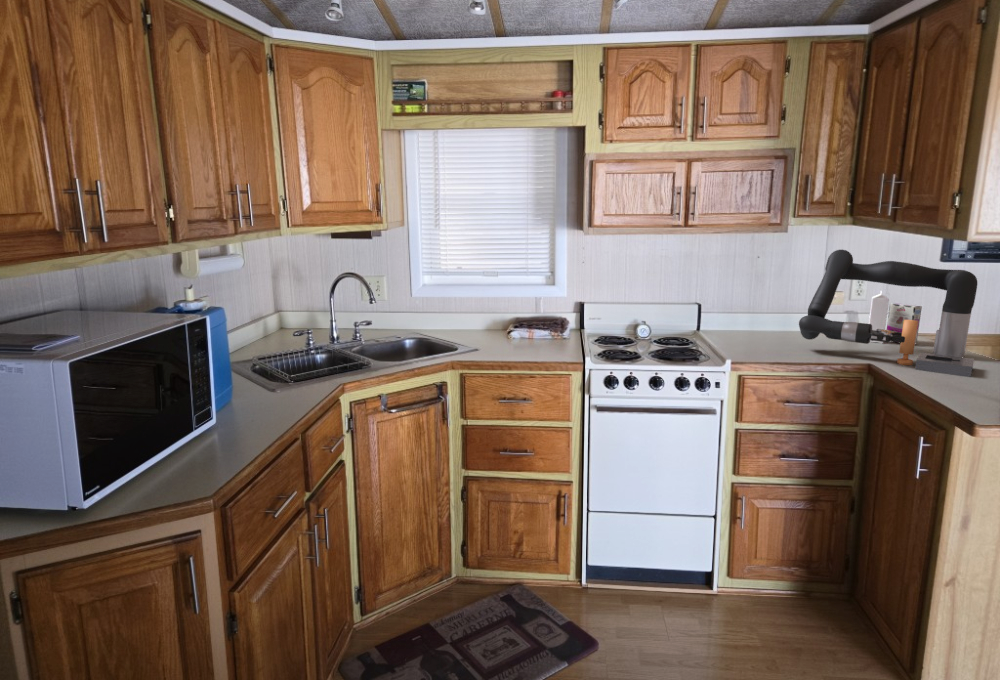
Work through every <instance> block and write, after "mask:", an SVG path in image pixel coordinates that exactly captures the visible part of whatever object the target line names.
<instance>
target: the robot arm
mask: <svg viewBox="0 0 1000 680" xmlns="http://www.w3.org/2000/svg"><path fill="white" fill-rule="evenodd" d="M824 270H825V272H824V274H823V277H822V279H821V281H820V284H819V285H818V287H817V290H816V291H815V293H814V295H813V297H812V299H811V300H810V301H811V302H810V303H809V305H808V308H807V315H805V316H803V317H801V318H800V319H799V321H798V327H799V330H800V331H799V332H800V334H801V336H802V338H804V339H805V340H815V339H816V338H818V336H819V335H820V334H822V335H824V336H825V337H826V338H828V339H830V340H837V341H845V342H851V343H857V344H867V345H869V344H870V343H871V342H870V340H872V341H881V342H883V343H895V342H901V343H904V342H905V337H904V336H902V333H900V332H896V331H894V330H887V329H885V330H883V329H877V330H872V325H871V324H868V323H865V322H863V323H862V322H854V321H839V320H838V321H837V320H830V319H828V318H826V316H827V313H828V311H829V310H830V307H831V305H832V303H833V300H834V297H835V295H836V292H837V290H838V287H839V284H840V282H841V280H849V281H850V280H851V281H862V282H863V281H865V282H871V283H872V282H873V283H878V284H879V283H881V284H886V285H892V286H898V287H909V288H910V287H911V288H912V287H913V288H914V287H915V288H920V287H921V288H922V287H925V288H933V289H938V290H943V291H946V293H945V298H944V303H942V308H941V316H940V322H939V323H940V324H939V329H937V330H936V331H935V332H936V333H935V338H934V345H933V352H932V354H938V355H946V356H954V357H964V358H965V352H966V347H967V340H968V335H969V330H970V329H969V328H970V322H971V315H972V310H973V308H974V305H975V300H976V296H977V292H978V291H977V290H978V278H977V276H976V275H975V274H974V273H973V272H971V271H968V270H965V269H944V268H933V267H932V268H931V267H927V266H923V265H920V264H914V263H910V262H905V261H903V262H902V261H895V260H888V261H887V260H885V261H880V262H879V261H878V262H875V263H868V264H867V263H865V264H864V263H863V264H862V263H855V262H854V258H853V255H852V253H851V252H849V251H848V250H846V249H836V250H834V251H832V252H831V253H830V254H829V256H828V258H827V262H826V264H825V269H824ZM890 333H891V334H890ZM892 341H893V342H892Z"/></svg>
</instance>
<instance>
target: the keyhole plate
mask: <svg viewBox="0 0 1000 680" xmlns="http://www.w3.org/2000/svg"><path fill="white" fill-rule="evenodd" d="M974 360H975V358H969V357H964V358H962V357H954V356H946V355H938V354H933V353H928V352H920V354H919V355H918V357H917V359H916V362H915V368H914V369H915V370H918V371H926V372H931V373H940V374H945V375H946V374H947V375H954V376H963V377H967V378H971V377H972V372H973V369H974V368H973V367H974V362H975V361H974Z"/></svg>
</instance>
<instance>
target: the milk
mask: <svg viewBox="0 0 1000 680" xmlns="http://www.w3.org/2000/svg"><path fill="white" fill-rule="evenodd" d="M879 292H880V293H879V294H876V295H873V296H871V301H870V308H869V317H868V323H867V324H871V325H872V330H877V329H883V330H886V326H887V319H888V312H889V309H888V308H889V304H890V303H889V302H890V299H889V297H887V296H885V295H884V294H883V291H882V290H880V291H879ZM871 342H880V343H879V344H882V343H883V344H884V342H881V341H872V340H870V342H869V343H871Z"/></svg>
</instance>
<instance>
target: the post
mask: <svg viewBox="0 0 1000 680" xmlns="http://www.w3.org/2000/svg"><path fill="white" fill-rule="evenodd" d="M917 325H918V321H916V320H904V322H903V329H902V336H904V337H905V342H904V343H899V351H898V353H900V354H903V355H902V357H900V358H899V357H898V358H897V359H896V364H898V365H900V366H901V365H902V366H913V364H914V359H912V358H911V359H909V355H914V353H915V339H916V332H917Z"/></svg>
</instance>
